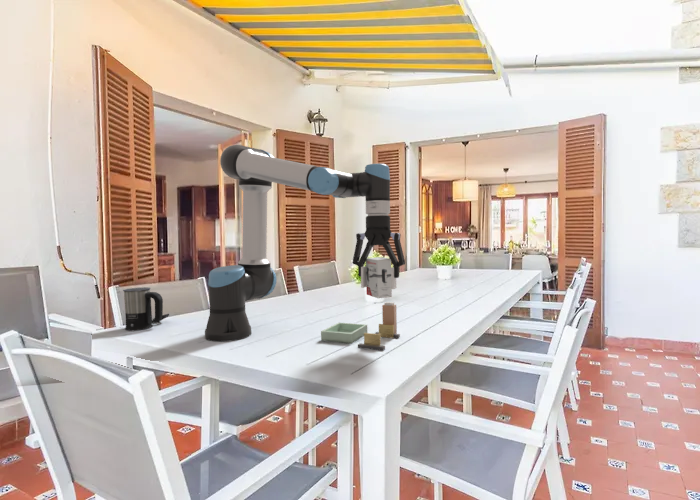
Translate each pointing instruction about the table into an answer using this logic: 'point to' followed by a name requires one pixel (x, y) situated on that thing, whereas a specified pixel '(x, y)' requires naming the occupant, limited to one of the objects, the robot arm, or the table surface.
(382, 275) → the ink box
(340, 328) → the tray
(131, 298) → the milk frother
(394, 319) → the fuse
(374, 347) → the holder base
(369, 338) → the clip rails
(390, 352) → the table surface
